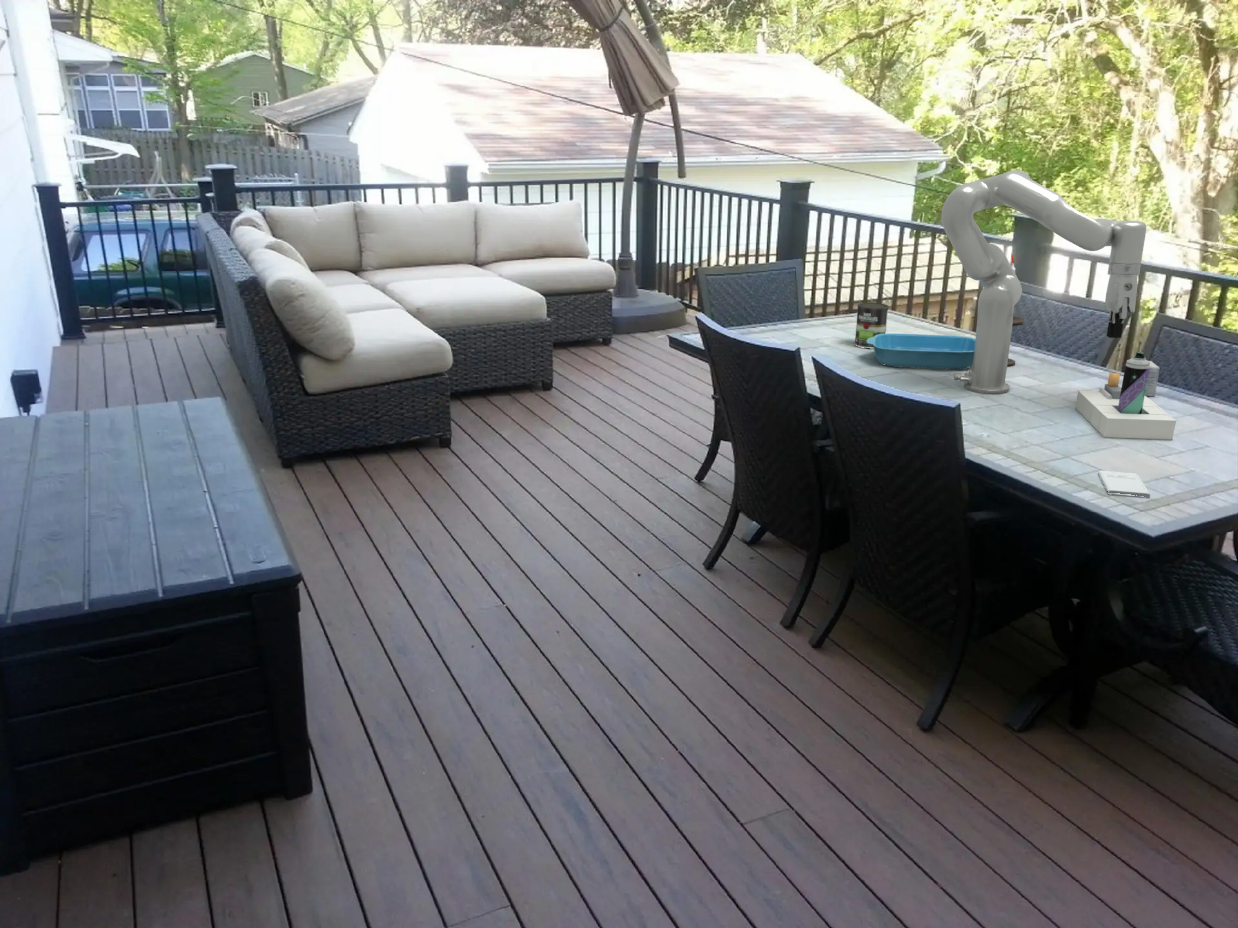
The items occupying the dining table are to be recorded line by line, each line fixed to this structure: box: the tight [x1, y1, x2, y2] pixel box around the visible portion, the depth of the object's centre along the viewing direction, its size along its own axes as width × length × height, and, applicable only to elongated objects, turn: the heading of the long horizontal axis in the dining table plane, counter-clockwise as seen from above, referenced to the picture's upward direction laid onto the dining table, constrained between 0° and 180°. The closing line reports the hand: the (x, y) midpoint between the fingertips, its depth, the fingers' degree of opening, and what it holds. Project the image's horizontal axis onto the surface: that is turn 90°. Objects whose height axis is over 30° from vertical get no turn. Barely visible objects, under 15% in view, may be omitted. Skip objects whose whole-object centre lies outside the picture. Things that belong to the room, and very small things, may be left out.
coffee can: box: [854, 302, 890, 350], centre depth 331 cm, size 10×10×14 cm
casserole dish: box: [866, 332, 976, 371], centre depth 311 cm, size 37×22×7 cm, turn 75°
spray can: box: [1117, 351, 1150, 414], centre depth 244 cm, size 6×6×20 cm
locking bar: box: [1103, 372, 1122, 399], centre depth 257 cm, size 3×7×5 cm, turn 172°
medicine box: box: [1145, 360, 1160, 398], centre depth 276 cm, size 8×4×9 cm, turn 169°
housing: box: [1074, 387, 1177, 441], centre depth 251 cm, size 16×25×6 cm, turn 171°
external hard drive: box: [1097, 470, 1151, 499], centre depth 211 cm, size 2×8×12 cm
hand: (1113, 337), depth 261 cm, fingers closed
